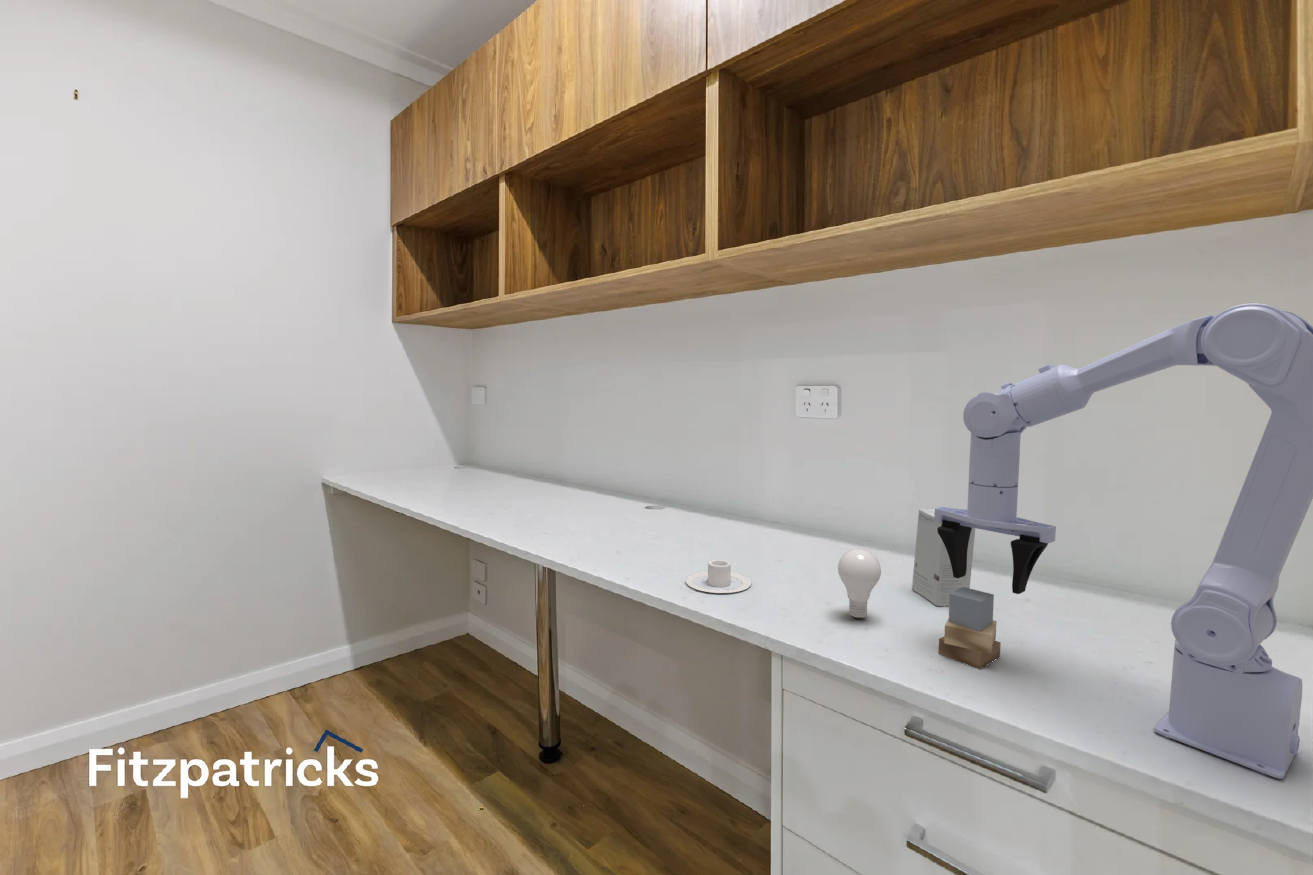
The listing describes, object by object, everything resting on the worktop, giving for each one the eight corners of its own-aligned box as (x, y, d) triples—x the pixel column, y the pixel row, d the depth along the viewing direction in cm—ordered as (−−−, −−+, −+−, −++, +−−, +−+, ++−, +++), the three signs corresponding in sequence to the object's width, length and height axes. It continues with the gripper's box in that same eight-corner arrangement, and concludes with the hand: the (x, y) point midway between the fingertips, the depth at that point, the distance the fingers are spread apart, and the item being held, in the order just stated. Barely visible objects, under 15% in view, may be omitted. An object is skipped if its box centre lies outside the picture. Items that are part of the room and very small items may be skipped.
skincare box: (911, 590, 105) (914, 508, 104) (943, 589, 106) (947, 507, 105) (938, 608, 97) (942, 519, 96) (972, 606, 98) (977, 518, 96)
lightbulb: (871, 629, 88) (874, 558, 87) (830, 619, 92) (832, 550, 91) (884, 616, 94) (886, 548, 92) (844, 607, 97) (846, 541, 96)
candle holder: (672, 583, 110) (672, 561, 110) (717, 570, 118) (718, 549, 117) (718, 602, 101) (719, 577, 100) (764, 586, 108) (765, 563, 108)
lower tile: (999, 660, 80) (1000, 642, 79) (979, 671, 76) (980, 653, 76) (958, 645, 84) (959, 628, 84) (938, 656, 81) (939, 638, 80)
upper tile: (995, 638, 80) (996, 621, 80) (991, 653, 76) (992, 635, 76) (951, 629, 84) (951, 611, 83) (944, 643, 79) (944, 625, 79)
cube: (992, 623, 79) (993, 594, 79) (980, 631, 77) (981, 601, 76) (961, 614, 82) (962, 586, 82) (948, 622, 80) (949, 593, 79)
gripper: (1068, 488, 75) (1061, 592, 76) (953, 474, 86) (949, 565, 88) (1044, 494, 70) (1038, 605, 72) (927, 479, 82) (924, 574, 83)
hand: (987, 583), depth 79 cm, fingers open, 7 cm apart
